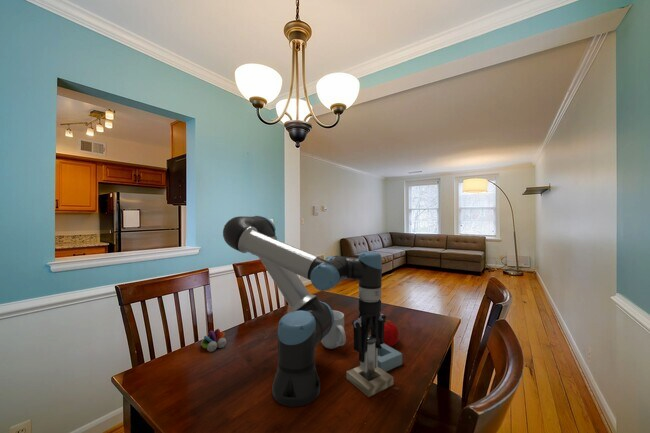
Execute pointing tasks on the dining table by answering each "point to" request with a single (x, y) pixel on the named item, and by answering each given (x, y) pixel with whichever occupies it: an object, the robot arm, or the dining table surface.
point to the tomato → (390, 333)
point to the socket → (388, 358)
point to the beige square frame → (369, 387)
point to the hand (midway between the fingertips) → (368, 368)
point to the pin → (370, 358)
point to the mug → (335, 332)
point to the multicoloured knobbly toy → (214, 340)
